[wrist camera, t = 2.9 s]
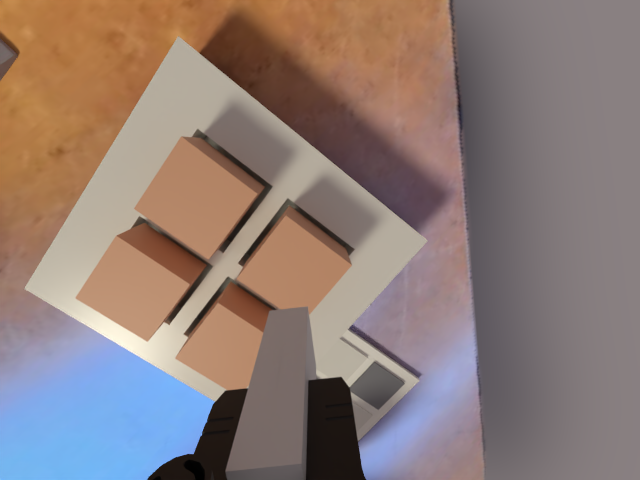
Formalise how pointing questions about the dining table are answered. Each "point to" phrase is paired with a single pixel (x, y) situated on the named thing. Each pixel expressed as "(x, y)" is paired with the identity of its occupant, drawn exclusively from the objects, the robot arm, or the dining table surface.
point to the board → (227, 262)
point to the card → (366, 378)
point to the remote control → (6, 58)
